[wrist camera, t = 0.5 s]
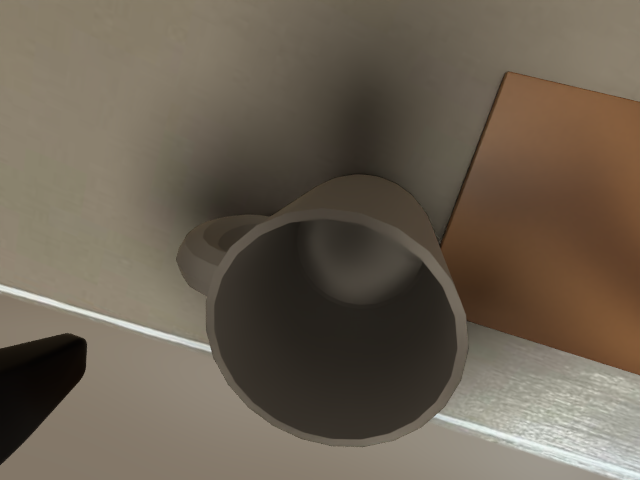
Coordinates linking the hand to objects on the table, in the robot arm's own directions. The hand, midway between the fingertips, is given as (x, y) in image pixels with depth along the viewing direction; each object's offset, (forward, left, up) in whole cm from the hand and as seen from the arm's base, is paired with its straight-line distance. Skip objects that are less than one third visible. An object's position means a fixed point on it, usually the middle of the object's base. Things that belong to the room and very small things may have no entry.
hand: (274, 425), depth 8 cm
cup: (+1, +1, -12) cm, 12 cm away
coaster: (+4, -10, -12) cm, 16 cm away
